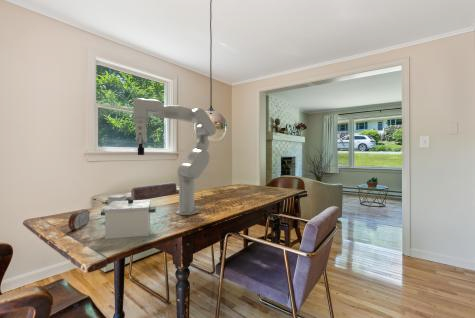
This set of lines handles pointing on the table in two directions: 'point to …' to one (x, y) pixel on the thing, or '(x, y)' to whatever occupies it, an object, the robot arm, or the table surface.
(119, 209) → the lid
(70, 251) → the table surface
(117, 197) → the supplement box
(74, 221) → the tin
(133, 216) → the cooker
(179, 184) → the robot arm
